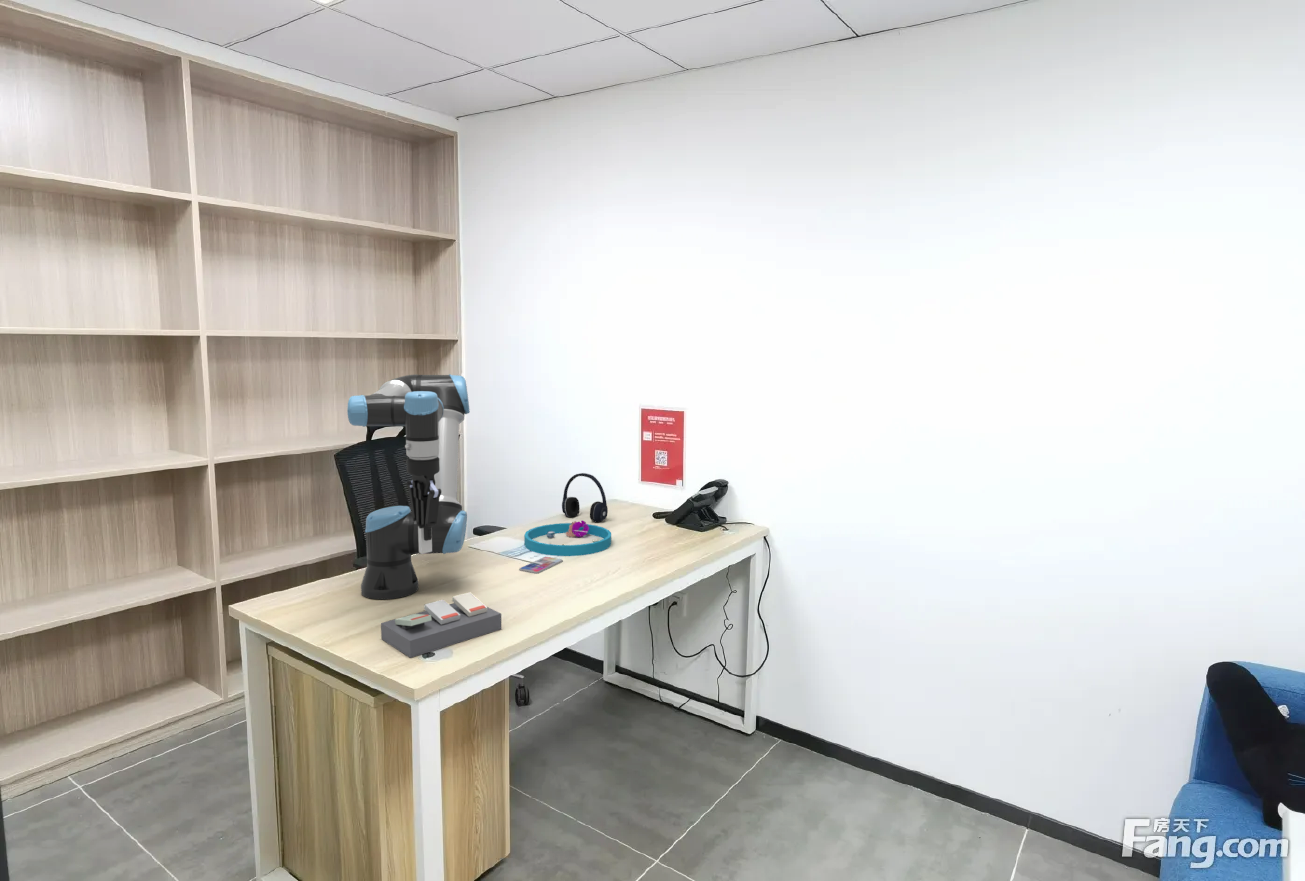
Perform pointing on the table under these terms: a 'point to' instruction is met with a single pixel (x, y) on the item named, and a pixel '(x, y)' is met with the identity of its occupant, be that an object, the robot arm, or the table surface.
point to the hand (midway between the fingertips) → (425, 551)
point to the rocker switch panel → (438, 631)
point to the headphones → (572, 504)
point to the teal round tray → (571, 531)
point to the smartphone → (541, 565)
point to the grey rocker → (442, 611)
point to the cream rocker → (469, 604)
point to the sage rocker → (413, 619)
